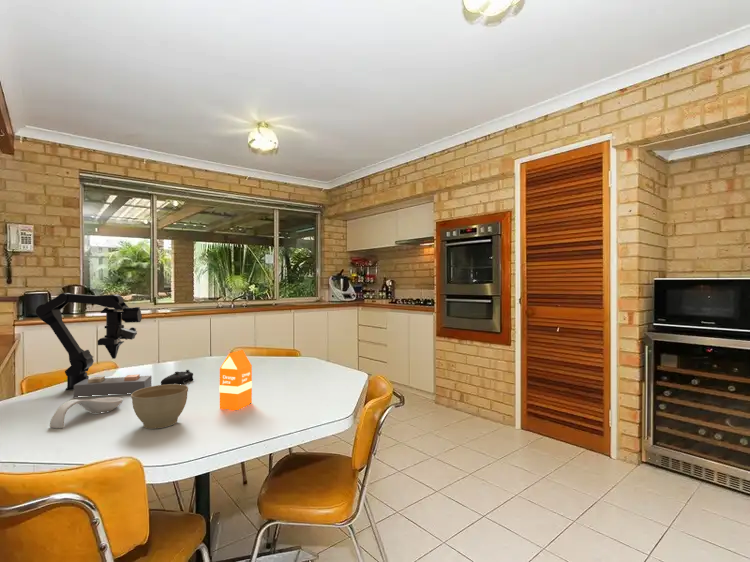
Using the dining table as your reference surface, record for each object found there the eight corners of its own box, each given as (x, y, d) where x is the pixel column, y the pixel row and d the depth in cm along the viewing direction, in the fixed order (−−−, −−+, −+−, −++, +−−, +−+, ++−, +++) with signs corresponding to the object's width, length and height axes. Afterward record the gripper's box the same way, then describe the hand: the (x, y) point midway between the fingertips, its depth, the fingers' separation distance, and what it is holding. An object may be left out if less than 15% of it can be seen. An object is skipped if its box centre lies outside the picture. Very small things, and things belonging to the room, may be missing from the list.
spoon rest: (101, 405, 148) (101, 386, 148) (130, 406, 147) (130, 387, 147) (39, 428, 125) (39, 405, 125) (73, 430, 123) (73, 407, 123)
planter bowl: (174, 412, 139) (174, 381, 139) (197, 422, 129) (197, 389, 129) (122, 425, 127) (123, 391, 127) (143, 437, 117) (143, 400, 117)
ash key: (87, 389, 161) (87, 379, 161) (92, 386, 165) (92, 376, 165) (100, 388, 162) (100, 378, 162) (104, 385, 166) (104, 376, 166)
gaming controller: (176, 369, 189) (196, 365, 188) (178, 382, 189) (198, 378, 188) (157, 376, 175) (179, 372, 174) (160, 390, 175) (181, 386, 174)
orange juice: (252, 403, 149) (252, 350, 149) (238, 410, 141) (238, 354, 141) (234, 401, 151) (234, 349, 152) (219, 409, 143) (219, 353, 143)
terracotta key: (124, 387, 164) (124, 377, 164) (128, 384, 168) (128, 375, 168) (136, 386, 165) (136, 376, 165) (139, 383, 169) (139, 374, 169)
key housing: (73, 397, 157) (73, 385, 157) (84, 391, 167) (84, 379, 167) (144, 393, 163) (144, 381, 163) (151, 387, 173) (151, 375, 173)
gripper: (127, 324, 168) (127, 361, 168) (141, 320, 186) (141, 353, 186) (96, 325, 166) (97, 363, 166) (114, 321, 184) (114, 355, 184)
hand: (114, 358), depth 175 cm, fingers closed
